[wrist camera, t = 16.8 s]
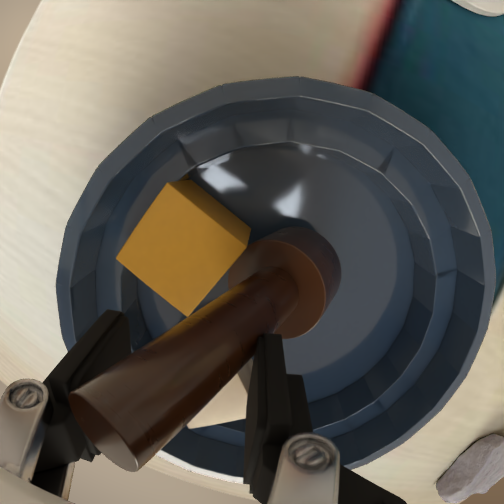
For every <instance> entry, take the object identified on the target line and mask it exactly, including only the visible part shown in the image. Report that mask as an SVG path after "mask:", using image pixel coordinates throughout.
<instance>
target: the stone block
mask: <svg viewBox="0 0 504 504" xmlns="http://www.w3.org/2000/svg"><path fill="white" fill-rule="evenodd" d="M502 477H504V437H503V436H499V435H496V434H490V435H489V436H487V437H485V438H482V439H480V440H478V441H477V442H476V443H475V444H473V445H472V446H471V447H470V448H469V449H468V450H466V451H465V452H464V453H463V454H461V455H460V456H459V457H458V458H457V460H456V461H455V462H454V463H453V465H452V466H451V467H450V468H449V469H448V470H447V471H446V472H445V474H444V475H443V476H442V477H441V478H440V479H439V480H438V482H437V483H436V489H437V490H438V494H439V496H440V497H441V498H442V500H444V501H445V502H446V503H458V502H460V501H462V500H465V499H466V498H467V497H469V496H470V495H471V494H475V493H481V494H484V493H486V492H487V491H488V489H489V488H490V487H491V486H492V485H494V484H495V483H496V482H497V481H499V480H500V479H501V478H502Z"/></svg>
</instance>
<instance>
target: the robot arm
mask: <svg viewBox="0 0 504 504" xmlns="http://www.w3.org/2000/svg"><path fill="white" fill-rule="evenodd" d="M451 1H453V2H455V3H457V4H458V5H460V6H462V7H464V8H466V9H468V10H470V11H472V12H475V13H477V14H481V15H485V16H499V15H502V14H504V0H451ZM130 354H131V342H130V327H129V318H128V317H125V315H124V313H123V312H121V311H115V310H110V309H107V310H106V311H105V312H104V313H103V314H102V315H101V316H100V317H99V318H98V319H97V321H96V322H95V323H94V324H93V325H92V326H91V327H90V328H89V330H88V331H87V332H86V333H85V334H84V335H83V336H82V338H81V339H80V340H79V341H78V342H77V343H76V344H75V345H74V346H73V347H72V348H71V349H70V351H69V352H68V353H67V354H66V355H65V356H64V358H63V359H62V360H61V361H60V362H59V363H58V365H57V366H56V367H55V368H54V369H53V371H52V372H51V373H50V374H49V375H48V377H47V378H46V379H45V380H44V382H43V383H41V382H40V381H38V380H35V379H20V380H18V381H15V382H13V383H12V384H10V385H9V386H8V387H7V389H6V390H5V392H4V393H3V395H2V397H1V399H0V504H75V503H72V502H70V501H68V498H69V492H70V487H71V482H72V476H73V472H74V467H75V462H76V461H79V459H80V458H81V459H84V460H87V461H90V462H92V461H93V459H94V457H95V455H100V454H101V452H100V451H99V450H98V449H97V447H96V446H95V445H94V444H93V443H92V442H91V441H90V439H89V438H88V437H87V436H86V434H85V433H84V432H83V430H82V429H81V427H80V426H79V424H78V422H77V421H76V419H75V417H74V415H73V413H72V410H71V408H70V404H69V400H68V396H69V394H70V392H71V391H73V390H74V389H76V388H78V387H79V386H81V385H82V384H84V383H86V382H87V381H89V380H90V379H92V378H94V377H95V376H97V375H98V374H100V373H102V372H103V371H105V370H106V369H108V368H110V367H111V366H113V365H114V364H116V363H117V362H119V361H121V360H122V359H124V358H125V357H127V356H128V355H130ZM243 484H250V494H253V497H254V498H255V499H257V500H258V501H259V502H260V503H262V504H407V503H406V502H405V501H404V500H403V499H401V498H400V497H398V496H396V495H394V494H392V493H390V492H389V491H387V490H385V489H383V488H381V487H379V486H377V485H376V484H374V483H372V482H370V481H368V480H367V479H365V478H363V477H361V476H360V475H358V474H356V473H355V472H353V471H351V470H349V469H348V468H346V467H344V466H343V465H341V464H340V453H339V449H338V447H337V446H336V444H335V443H334V442H333V441H332V440H330V439H329V438H327V437H325V436H324V435H321V434H318V433H314V432H313V429H312V423H311V418H310V412H309V407H308V402H307V396H306V391H305V386H304V380H303V377H302V375H297V374H287V373H286V366H285V358H284V350H283V342H282V335H281V334H272V333H264V336H263V337H258V339H257V346H256V352H255V355H254V360H253V366H252V372H251V378H250V384H249V390H248V396H247V405H246V427H245V450H244V472H243Z"/></svg>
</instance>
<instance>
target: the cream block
mask: <svg viewBox="0 0 504 504" xmlns="http://www.w3.org/2000/svg"><path fill="white" fill-rule="evenodd" d="M252 366H253V361H252V358H251V359H250V360H249V361H248V362H247V363H246V364H245V365H244V366H243V368H242V369H241V370H240V371H239V372H238V373H237V374H236V375H235V376H234V377H233V378H232V379H231V380H230V381H229V382H228V383H227V384H226V386H225V387H224V388H223V389H222V390H221V391H220V392H219V393H218V394H217V395H216V396H215V397H214V398H213V399H212V400H211V401H210V402H209V403H208V404H207V405H206V406H205V407H204V408H203V409H202V410H201V411H200V412H199V413H198V414H197V415H196V416H195V417H194V418H193V419H192V420H191V421H190V422H189V423H188V424H187V426H188V428H189V429H192V428H198V427H204V426H210V425H215V424H220V423H225V422H230V421H235V420H240V419H244V418H246V405H247V396H248V390H249V384H250V378H251V372H252Z"/></svg>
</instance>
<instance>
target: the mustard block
mask: <svg viewBox="0 0 504 504" xmlns="http://www.w3.org/2000/svg"><path fill="white" fill-rule="evenodd" d="M250 232H251V228H250V227H249V226H248V225H246V224H245V223H244V222H243V221H242V220H240V219H239V218H238V217H237V216H235V215H234V214H233V213H232V212H230V211H229V210H228V209H227V208H226V207H224V206H223V205H222V204H221V203H219V202H218V201H217V200H216V199H214V198H213V197H212V196H211V195H209V194H208V193H207V192H206V191H205V190H203V189H202V188H201V187H200V186H198V185H197V184H196V183H195V182H193V181H192V180H183V181H175V182H168V183H166V185H165V186H164V187H163V189H162V190H161V192H160V193H159V194H158V196H157V197H156V198H155V200H154V201H153V203H152V204H151V206H150V207H149V208H148V210H147V211H146V213H145V214H144V216H143V217H142V219H141V220H140V221H139V223H138V224H137V226H136V227H135V229H134V230H133V232H132V233H131V235H130V236H129V238H128V239H127V241H126V242H125V244H124V246H123V247H122V249H121V250H120V252H119V253H118V255H117V257H116V259H117V260H118V261H119V262H120V263H121V264H123V265H124V266H125V267H126V268H127V269H128V270H130V271H131V272H132V273H133V274H134V275H136V276H137V277H138V278H139V279H140V280H142V281H143V282H144V283H145V284H146V285H148V286H149V287H150V288H151V289H153V290H154V291H155V292H156V293H158V294H159V295H160V296H161V297H163V298H164V299H165V300H166V301H168V302H169V303H170V304H171V305H173V306H174V307H175V308H177V309H178V310H179V311H180V312H182V313H183V314H184V315H186V316H187V317H188V316H189V315H190V314H191V313H192V312H193V311H194V309H195V308H196V307H197V306H198V305H199V303H200V302H201V301H202V300H203V299H204V298H205V296H206V295H207V294H208V293H209V292H210V290H211V289H212V288H213V287H214V286H215V285H216V283H217V282H218V281H219V280H220V279H221V277H222V276H223V275H224V274H225V273H226V272H227V270H228V269H229V268H230V267H231V266H232V264H233V263H234V262H235V261H236V260H237V259H238V257H239V256H240V255H241V254H242V253H243V252H244V250H245V249H246V248H247V244H248V240H249V236H250Z"/></svg>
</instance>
